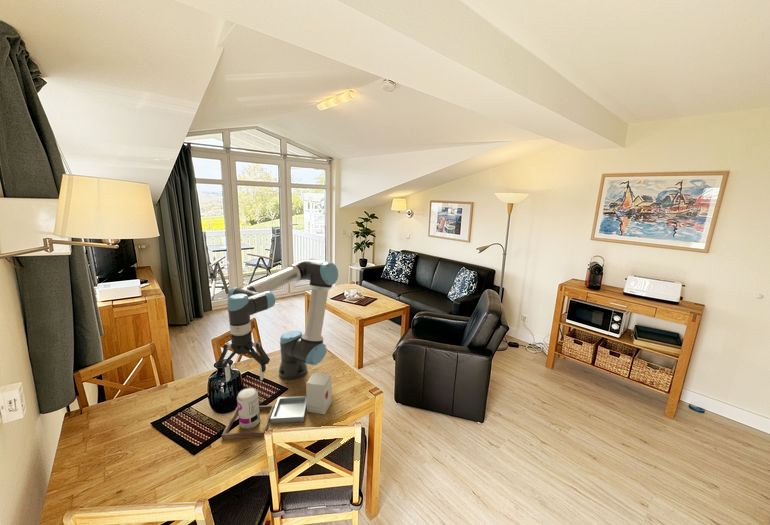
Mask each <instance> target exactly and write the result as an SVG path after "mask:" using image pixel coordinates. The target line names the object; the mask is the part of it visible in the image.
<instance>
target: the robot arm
mask: <svg viewBox="0 0 770 525" xmlns="http://www.w3.org/2000/svg"><path fill="white" fill-rule="evenodd" d="M338 279H339V269H338V267H337V265H336V263H335V264H334V263H333V262H331V261H327V260H320V259H319V260H318V259H314V258H308V259H303V260H299V261H297V262H295V263H292V264H290V265H288V267H287V268H285V269H282V270H279V271H277V272H276V273H273V274H271V275H269V276H266V277H263V278H261V279H259V280H257V281H254V282H252V283H249V284H247V285H245V286H242V287H241V286H233V287H231V288H230V289H229V290H228V292H227V311H228V312H227V313H228V320H229V322H228V323H229V330H230V340H231V341H230V342H231V343H230V342H228V341H226V342H225V343H224V345H223V348H222V349H223V350H222V351H221V355H220V357H219V359H218V362H217V363H216V366H217V367H220V366H221V367H222V374H225V382H226V383H227V382H230V380H231V378H232V376H231V368H230V363H229V362H230V361H231V360H232V358H234V356H235V355H236V354H237V355H247V354H248V356H250V357H252V359H254V360H255V361H256V362H257V363H258V364H259V367H258V369H259V380H260V381H263V380H264V377H265V372H266V370H267V367H266V365H268V364H269V363H270V361H271V360H270V357H269V355H268V354H267V353H266V351H265V349H264V348H263V346H262V343H261V341H259V340H258V341H257V342H253V337H252V331H251V330H252V325H251V316H252V315H255V314H257V313H260V312H264V311H266V310H268V309H271V308H273V307H274V306H275V304H276V298H275V294H274V293H273V292H274V291H276V290H278V289H281V288H282V287H284V286H286V285H289V284H292V283H294V282H295V283H298V282H300V281H309V286H310V289H311V292H310V297H309V304H308V310H307V316H306V324H305V329H304V333H302V331H301V330H290V331H287V332H285V333H283V334H281V335H280V339H279V347H280V348H279V349H280V356H281V357H280V358H281V359H280V360H281V362H280V365H279V368H278V375H279V377H280V378H281V379H283V380H296V379H299V378H301V377H303V376H304V375H306V373H307V372H308V365H311V366H317V365H318V364H320V363H321V362H322V361H323V360H324V358H325V357H326V354H327V349H328V348H327V345H326V344H324V337H323V335H322V331H323V326H324V320H325V314H326V307H327V300H328V294H329V291H330V289H332V288H333V285H335V284H336V282H337V281H338ZM230 348H231V349H232V350H233V351H232V352H231V353H230V355H229V356H228V357H227V358H226V355H227V354H228V353H227V352H228V350H229V349H230ZM255 349H256V350H255ZM225 358H226V360H225Z"/></svg>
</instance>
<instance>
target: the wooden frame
mask: <svg viewBox="0 0 770 525" xmlns="http://www.w3.org/2000/svg"><path fill="white" fill-rule="evenodd" d="M274 408H275V404H268V405H264V404H263V405H259V412H260V411H262V412H263V411H269V414H268V417H267V419H266V421H265V424H264V427H263V428H262V430H261V431H258V430H257V431H246V432H244V431H243V432H229V431H230V429H231V427H232V425H233V423H234V422H233V421H235V420H236V418H237V416H238V415H239V414H238V406H236V408H235V410H234V412H233V413H232V415H231V418H230V419H229V420H228V422H227V425H226V426H225V428H224V430H223V432H222V434H221V440H231V439H233V440H234V439H248V438H249V439H250V438H264V437H265V436H264V433H265V431H266V430H267V431H268V427H269V425H270V424H271V419H270V418H271V416H272V413H273V410H274ZM234 419H235V420H234ZM267 431H266V432H267ZM265 434H266V433H265Z"/></svg>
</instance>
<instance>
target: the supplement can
mask: <svg viewBox="0 0 770 525" xmlns="http://www.w3.org/2000/svg"><path fill="white" fill-rule="evenodd" d="M236 403H237V404H236V405H237V407H238V414H237V415H238V420H239V421H238V422H239V427H240V428H242V429H244V430H249V429H253V428H255V427H257V425H258V424H259V423H260V421H261V415H260V414H261V413H260V411H259V406H260V404H259V393H258V391H257V389H256V388H254V387H247V388H244V389H241V390H240V391H238V394H237V396H236Z"/></svg>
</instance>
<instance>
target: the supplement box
mask: <svg viewBox="0 0 770 525" xmlns="http://www.w3.org/2000/svg"><path fill="white" fill-rule="evenodd" d="M305 388H306V394H305V396H307V409H306V413H307V412H309V413H313V414H320V415H326V413H327V411H328V409H329V408H330V406H331V404H332V402H333V401H332V398H333V397H332V374H329V373H328V374H327V373H320V372H313V373H312V375H311V376H310V377H309V378H308V380H307V381H306V382H305Z"/></svg>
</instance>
